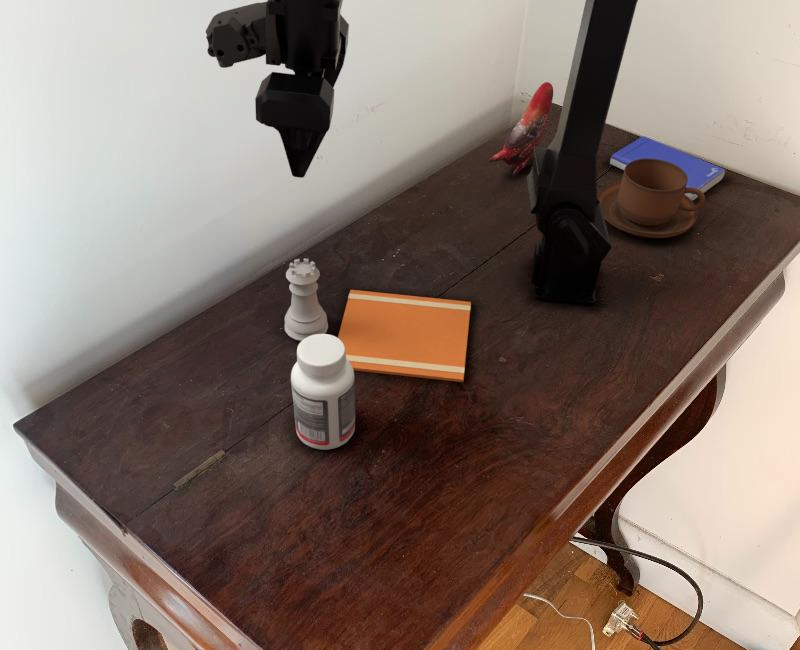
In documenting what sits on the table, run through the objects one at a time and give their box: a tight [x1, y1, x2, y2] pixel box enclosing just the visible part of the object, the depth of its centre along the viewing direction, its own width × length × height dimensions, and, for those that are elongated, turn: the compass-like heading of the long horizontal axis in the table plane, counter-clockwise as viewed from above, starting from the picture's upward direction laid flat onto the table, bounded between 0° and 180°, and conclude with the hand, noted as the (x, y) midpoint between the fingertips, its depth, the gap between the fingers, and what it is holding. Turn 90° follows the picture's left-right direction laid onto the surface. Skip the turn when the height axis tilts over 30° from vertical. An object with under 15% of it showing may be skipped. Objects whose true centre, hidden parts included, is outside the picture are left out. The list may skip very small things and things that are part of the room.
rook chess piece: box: [284, 257, 329, 342], centre depth 79 cm, size 4×4×8 cm
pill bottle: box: [290, 333, 356, 451], centre depth 69 cm, size 5×5×10 cm
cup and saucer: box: [597, 158, 706, 239], centre depth 96 cm, size 12×12×6 cm
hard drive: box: [609, 135, 726, 201], centre depth 106 cm, size 2×8×12 cm
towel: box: [337, 289, 472, 383], centre depth 82 cm, size 13×12×1 cm
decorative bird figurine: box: [488, 81, 554, 176], centre depth 101 cm, size 3×18×10 cm, turn 149°
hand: (304, 151), depth 78 cm, fingers open, 9 cm apart
